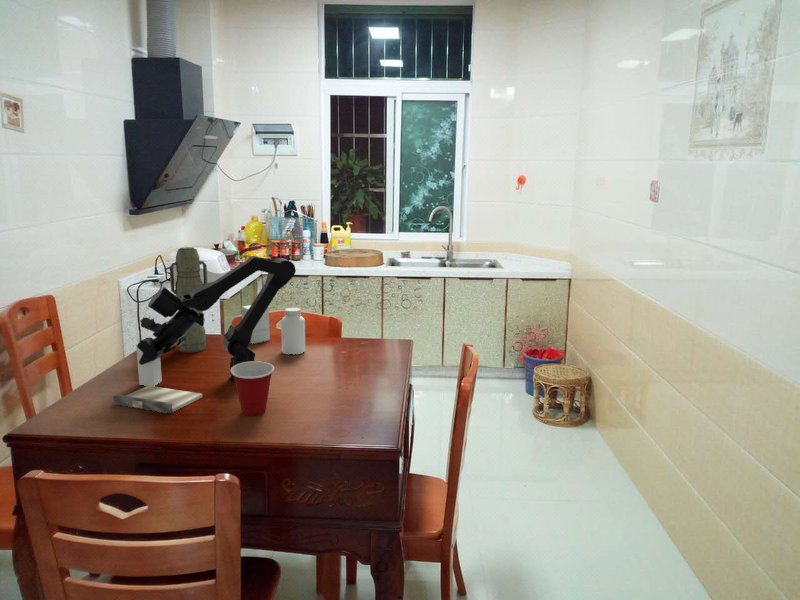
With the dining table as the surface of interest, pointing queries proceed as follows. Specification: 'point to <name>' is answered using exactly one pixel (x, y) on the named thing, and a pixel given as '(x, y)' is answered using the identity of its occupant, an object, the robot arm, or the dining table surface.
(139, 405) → the shelf board
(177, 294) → the thermos
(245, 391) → the plastic cup
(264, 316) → the supplement box
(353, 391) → the dining table surface
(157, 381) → the grey carton
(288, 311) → the pill bottle
